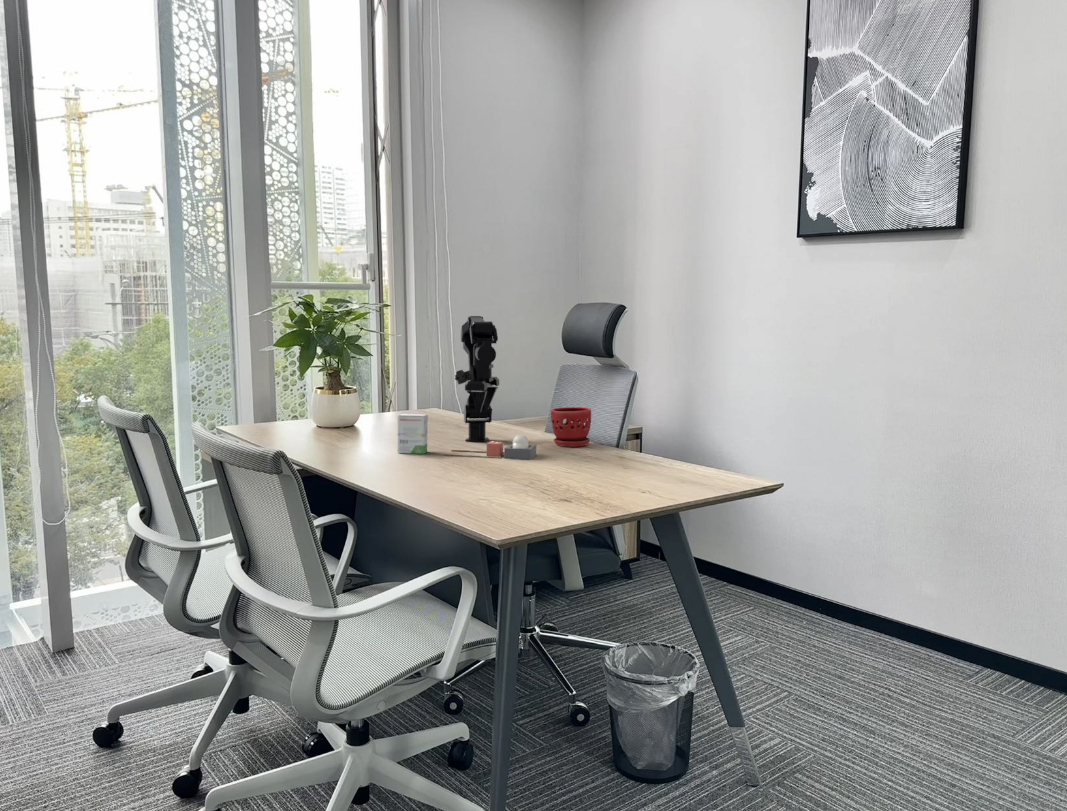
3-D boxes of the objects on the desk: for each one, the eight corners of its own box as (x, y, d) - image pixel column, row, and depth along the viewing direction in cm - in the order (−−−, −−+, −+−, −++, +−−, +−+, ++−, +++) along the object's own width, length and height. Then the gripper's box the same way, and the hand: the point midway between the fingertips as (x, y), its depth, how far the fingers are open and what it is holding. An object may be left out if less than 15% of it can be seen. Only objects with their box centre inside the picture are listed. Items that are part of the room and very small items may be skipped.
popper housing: (510, 453, 265) (510, 443, 265) (536, 454, 263) (536, 445, 263) (504, 458, 257) (504, 448, 257) (530, 459, 256) (530, 449, 255)
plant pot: (588, 441, 288) (589, 406, 286) (592, 448, 275) (593, 411, 273) (549, 441, 288) (549, 405, 286) (551, 448, 274) (552, 411, 273)
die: (490, 454, 265) (490, 440, 264) (503, 454, 264) (503, 440, 263) (486, 456, 261) (486, 442, 260) (499, 457, 260) (499, 442, 259)
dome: (514, 453, 263) (514, 432, 262) (530, 454, 262) (530, 433, 261) (510, 456, 259) (510, 435, 258) (526, 456, 258) (526, 435, 257)
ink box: (397, 453, 265) (396, 415, 263) (401, 450, 270) (400, 413, 268) (424, 454, 264) (424, 415, 262) (428, 451, 269) (428, 413, 267)
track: (452, 450, 270) (452, 449, 270) (508, 453, 266) (508, 452, 266) (443, 455, 261) (443, 454, 261) (500, 458, 257) (500, 457, 257)
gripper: (466, 359, 282) (466, 406, 284) (448, 363, 264) (449, 413, 266) (499, 359, 279) (499, 407, 281) (483, 363, 261) (483, 415, 263)
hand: (482, 410), depth 273 cm, fingers open, 9 cm apart
